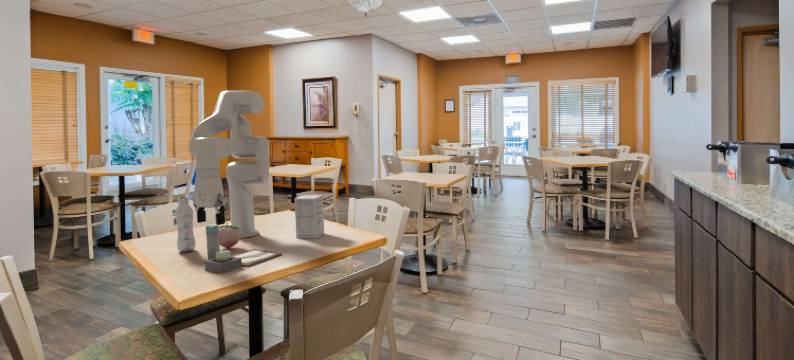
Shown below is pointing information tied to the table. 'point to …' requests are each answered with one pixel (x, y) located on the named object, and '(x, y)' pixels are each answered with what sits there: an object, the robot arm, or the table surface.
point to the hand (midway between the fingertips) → (211, 223)
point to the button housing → (223, 265)
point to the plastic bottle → (185, 226)
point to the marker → (212, 241)
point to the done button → (222, 255)
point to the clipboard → (256, 256)
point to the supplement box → (309, 216)
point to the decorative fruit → (228, 235)
